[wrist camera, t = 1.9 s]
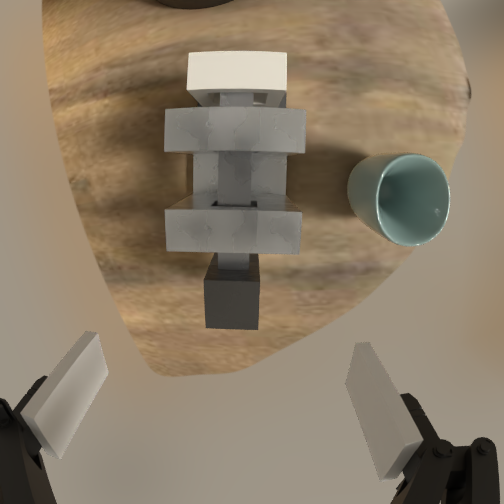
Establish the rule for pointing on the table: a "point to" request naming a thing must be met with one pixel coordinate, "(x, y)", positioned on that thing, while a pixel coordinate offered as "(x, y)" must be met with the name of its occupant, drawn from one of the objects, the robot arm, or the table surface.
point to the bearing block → (262, 179)
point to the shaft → (233, 264)
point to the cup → (400, 196)
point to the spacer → (237, 76)
